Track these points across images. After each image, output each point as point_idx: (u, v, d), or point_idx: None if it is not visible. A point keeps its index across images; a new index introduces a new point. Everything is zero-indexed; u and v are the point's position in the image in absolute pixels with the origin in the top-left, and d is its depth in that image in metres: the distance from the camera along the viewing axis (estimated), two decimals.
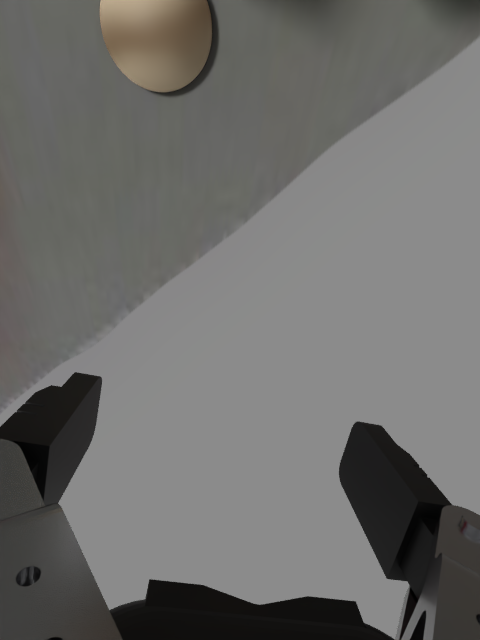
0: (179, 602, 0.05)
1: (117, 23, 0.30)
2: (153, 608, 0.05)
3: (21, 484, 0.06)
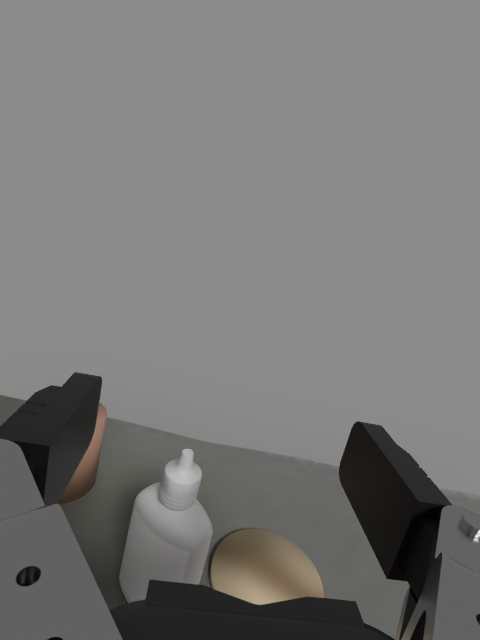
0: (179, 602, 0.05)
1: None
2: (153, 608, 0.05)
3: (21, 484, 0.06)
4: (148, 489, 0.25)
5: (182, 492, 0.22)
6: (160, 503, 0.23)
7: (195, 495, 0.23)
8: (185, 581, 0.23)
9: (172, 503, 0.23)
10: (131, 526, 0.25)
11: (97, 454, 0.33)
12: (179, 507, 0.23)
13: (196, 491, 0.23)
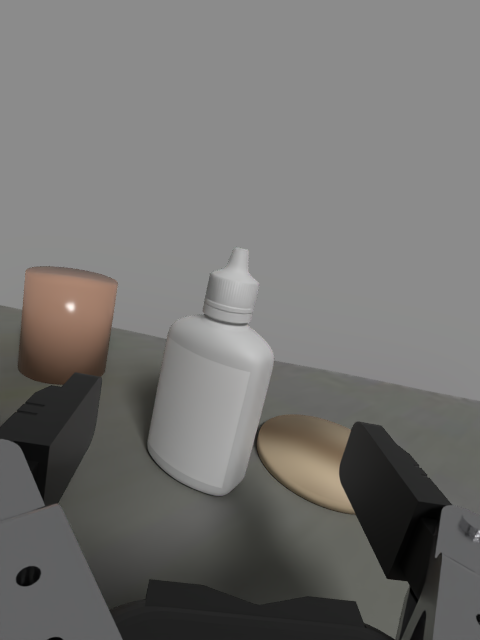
0: (179, 602, 0.05)
1: None
2: (153, 608, 0.05)
3: (21, 484, 0.06)
4: None
5: (237, 295, 0.17)
6: (206, 319, 0.18)
7: (252, 308, 0.18)
8: (243, 417, 0.17)
9: (223, 312, 0.17)
10: (164, 365, 0.19)
11: (108, 330, 0.27)
12: (233, 318, 0.17)
13: (253, 302, 0.18)
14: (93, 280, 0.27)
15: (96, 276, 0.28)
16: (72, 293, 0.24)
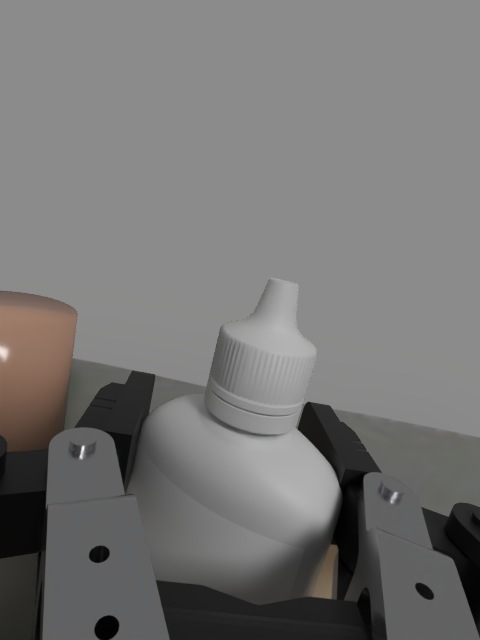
0: (179, 602, 0.05)
1: None
2: None
3: (109, 472, 0.07)
4: (172, 402, 0.10)
5: (278, 381, 0.08)
6: (211, 422, 0.09)
7: (303, 399, 0.09)
8: None
9: (248, 414, 0.08)
10: (131, 493, 0.10)
11: (61, 386, 0.18)
12: (267, 425, 0.08)
13: (306, 388, 0.09)
14: (38, 312, 0.18)
15: (47, 304, 0.19)
16: None
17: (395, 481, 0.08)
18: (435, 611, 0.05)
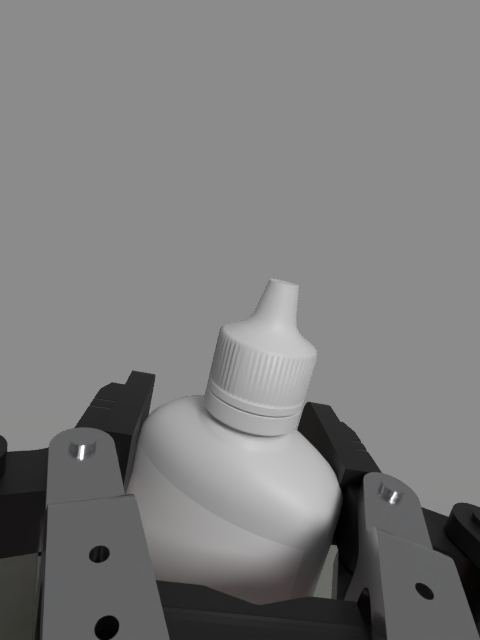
0: (179, 602, 0.05)
1: None
2: None
3: (109, 472, 0.07)
4: (172, 403, 0.10)
5: (278, 383, 0.08)
6: (211, 423, 0.09)
7: (303, 400, 0.09)
8: None
9: (247, 415, 0.08)
10: None
11: None
12: (267, 427, 0.08)
13: (306, 389, 0.09)
14: None
15: None
16: None
17: (395, 481, 0.08)
18: (435, 611, 0.05)
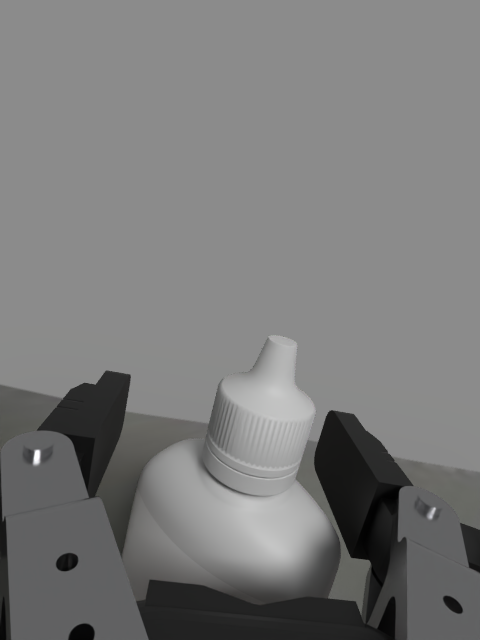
0: (179, 602, 0.05)
1: None
2: (153, 608, 0.05)
3: (69, 476, 0.06)
4: (171, 450, 0.10)
5: (275, 446, 0.08)
6: (209, 479, 0.09)
7: (301, 457, 0.09)
8: None
9: (245, 476, 0.08)
10: (130, 541, 0.10)
11: None
12: (265, 487, 0.08)
13: (304, 446, 0.09)
14: None
15: None
16: None
17: (433, 496, 0.08)
18: (462, 625, 0.05)
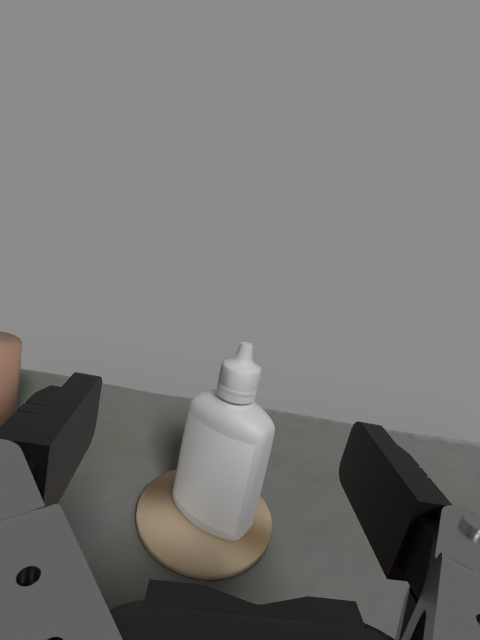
0: (179, 602, 0.05)
1: (240, 541, 0.23)
2: (153, 608, 0.05)
3: (21, 484, 0.06)
4: (202, 393, 0.23)
5: (244, 383, 0.21)
6: (219, 400, 0.22)
7: (256, 390, 0.22)
8: (251, 480, 0.21)
9: (233, 396, 0.21)
10: (186, 433, 0.23)
11: (11, 391, 0.29)
12: (241, 400, 0.21)
13: (257, 385, 0.22)
14: None
15: (2, 338, 0.30)
16: None
17: None
18: None
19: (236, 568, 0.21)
